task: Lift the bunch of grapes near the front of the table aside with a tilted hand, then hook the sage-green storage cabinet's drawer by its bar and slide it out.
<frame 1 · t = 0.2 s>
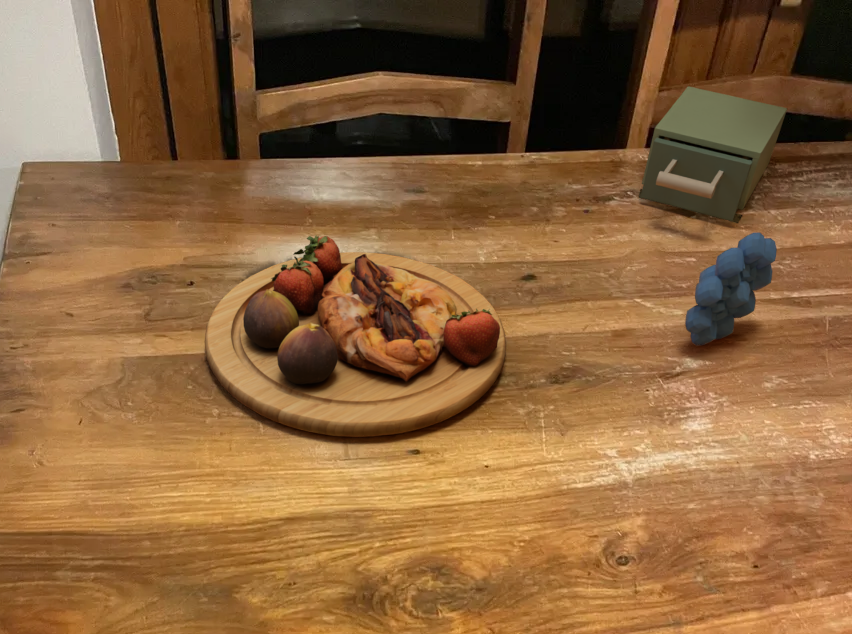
wooden plate: (357, 348, 101), on the table
grapes: (708, 335, 105), on the table
cabinet: (702, 186, 128), on the table
drawer: (701, 168, 122), point 5 cm above the table, slide at 0.5 cm
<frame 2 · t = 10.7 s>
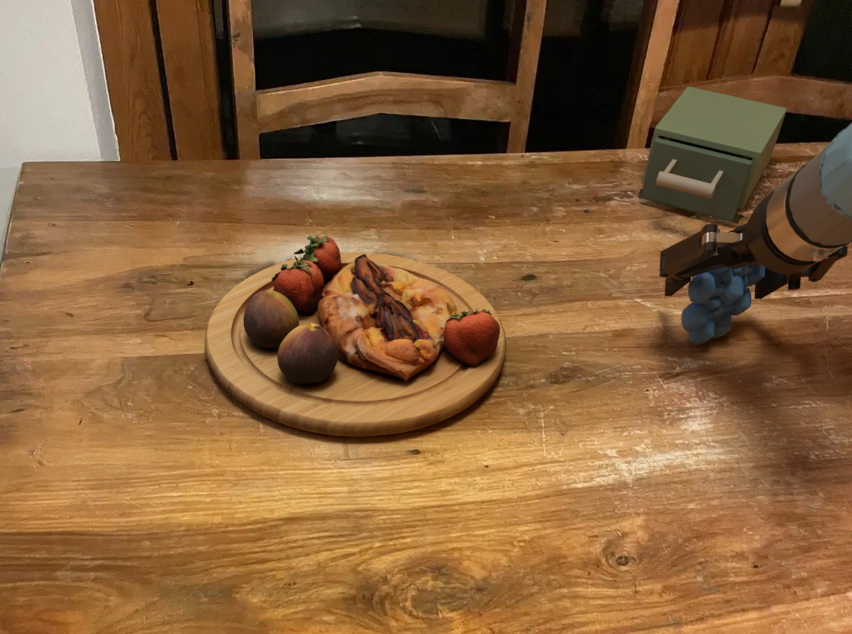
hand: (713, 285, 104), 4 cm above the table, tool tilted 45°, fingers closed on grapes, 9 cm apart
grapes: (707, 335, 105), on the table, touching gripper
everything else where it was.
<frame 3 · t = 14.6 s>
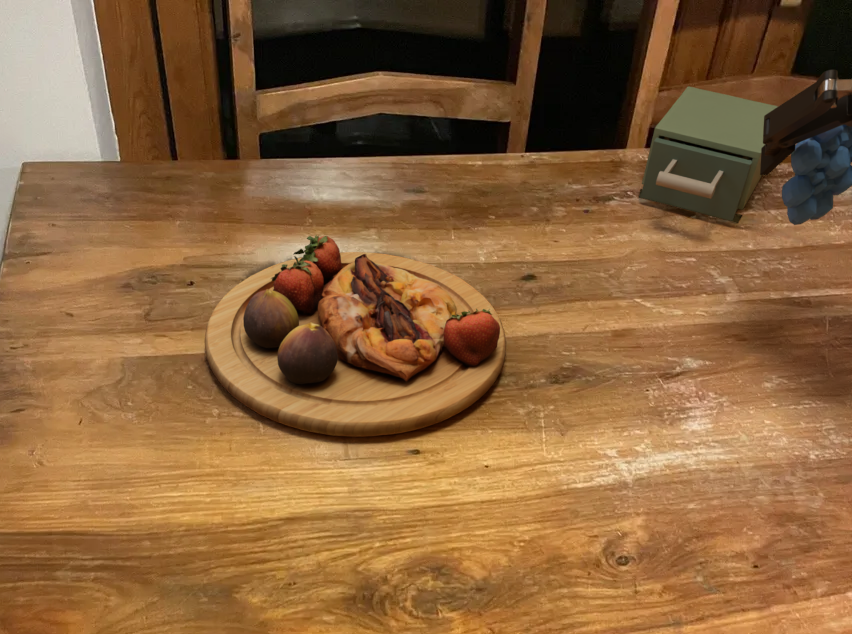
hand: (812, 163, 97), 16 cm above the table, tool tilted 45°, fingers closed on grapes, 9 cm apart
grapes: (804, 218, 98), point 12 cm above the table, touching gripper
everything else where it was.
when the fingers open (4 cm above the table, at t = 18.6 s): grapes stays where it is, on the table.
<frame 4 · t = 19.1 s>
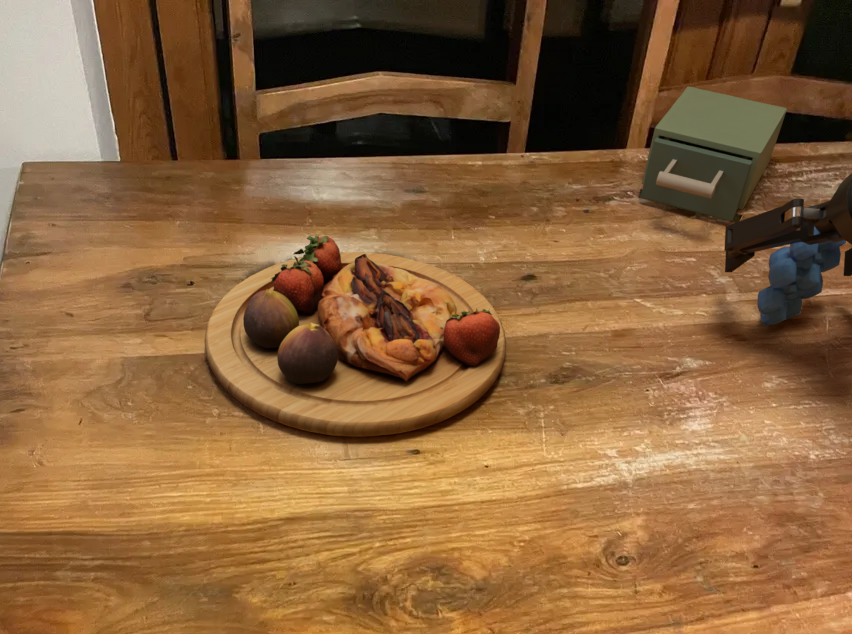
hand: (788, 262, 106), 5 cm above the table, tool tilted 45°, fingers open, 13 cm apart
grapes: (774, 316, 108), on the table
everything else where it was.
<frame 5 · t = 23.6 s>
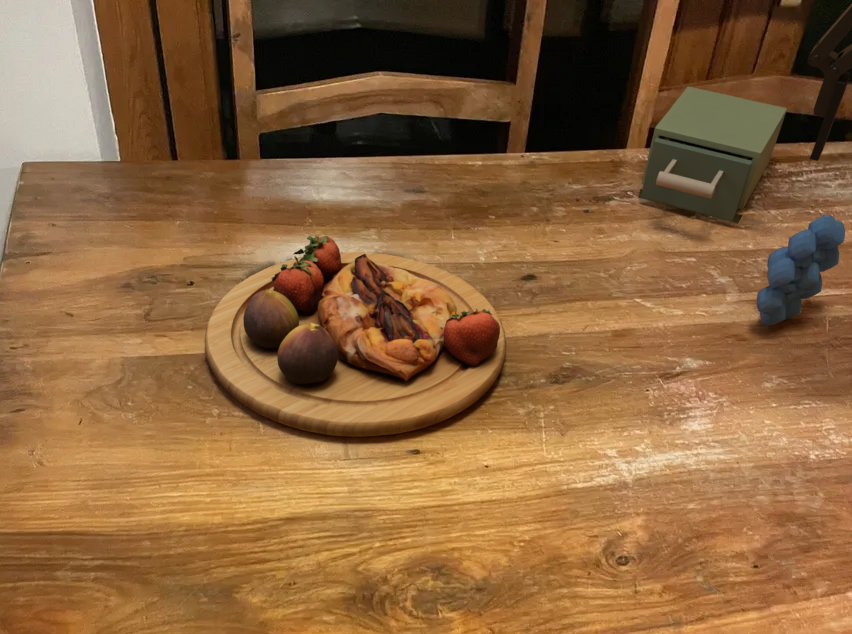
nothing on the table moved.
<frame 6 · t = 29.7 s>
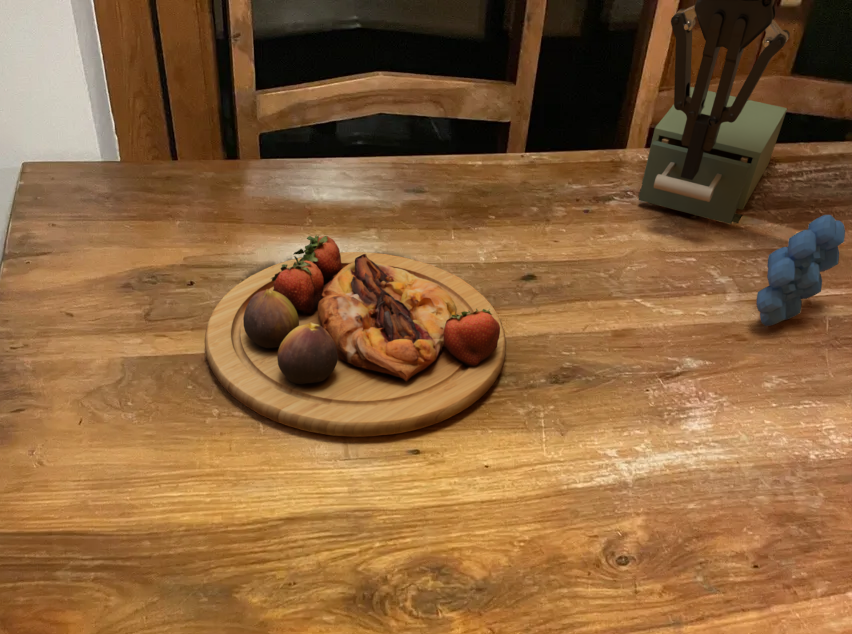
hand: (689, 173, 114), 7 cm above the table, tool pointing down, fingers closed
drawer: (700, 171, 121), point 5 cm above the table, slide at 1.5 cm, touching gripper
everything else where it was.
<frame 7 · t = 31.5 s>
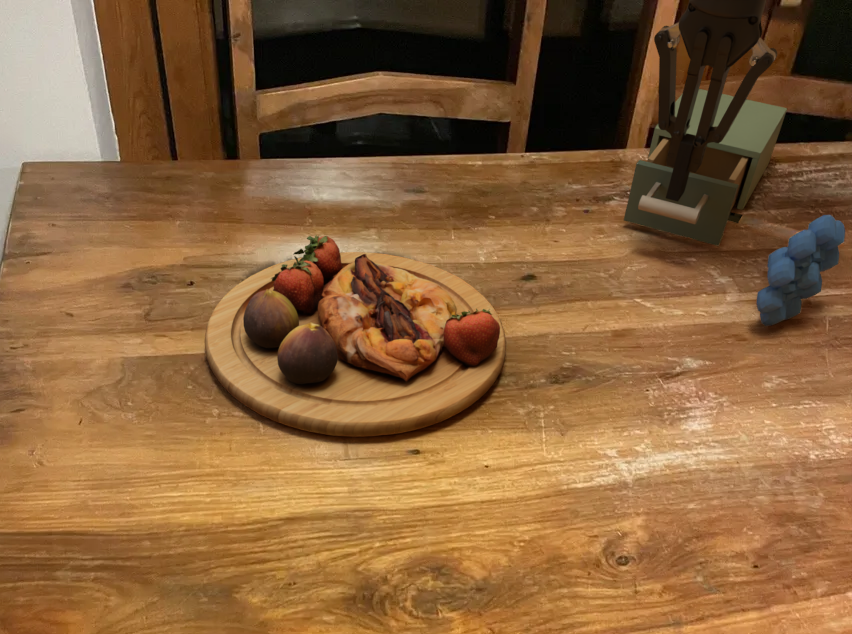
hand: (674, 195, 111), 7 cm above the table, tool pointing down, fingers closed
drawer: (686, 191, 117), point 5 cm above the table, slide at 7.8 cm, touching gripper
everything else where it was.
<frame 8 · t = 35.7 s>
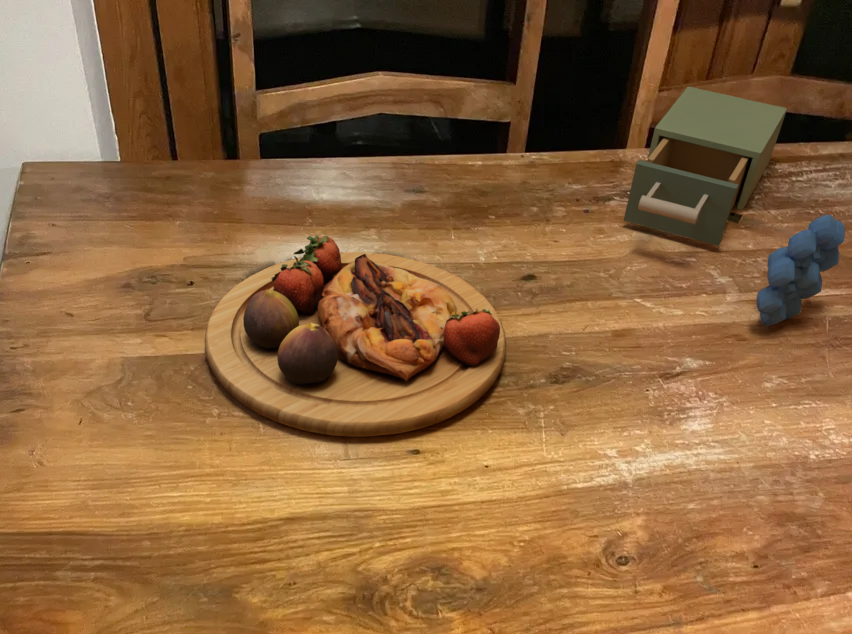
drawer: (686, 191, 117), point 5 cm above the table, slide at 7.8 cm
everything else where it was.
at the end: drawer slide at 7.8 cm; grapes inside the target area (0.3 cm from its centre), on the table; the gripper is holding nothing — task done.
